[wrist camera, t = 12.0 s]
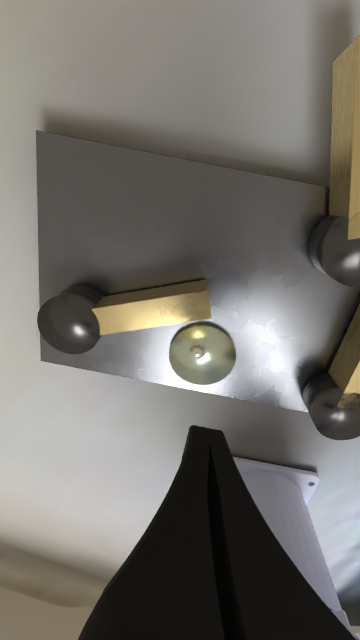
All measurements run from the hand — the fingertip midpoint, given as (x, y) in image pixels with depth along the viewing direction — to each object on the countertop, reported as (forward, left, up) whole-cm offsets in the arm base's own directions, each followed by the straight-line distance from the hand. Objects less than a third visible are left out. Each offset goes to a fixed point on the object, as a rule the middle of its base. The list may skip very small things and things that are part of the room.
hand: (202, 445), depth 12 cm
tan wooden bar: (+2, -9, -7) cm, 12 cm away
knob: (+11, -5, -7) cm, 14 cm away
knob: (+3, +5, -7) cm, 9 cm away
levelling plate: (+4, 0, -9) cm, 10 cm away
